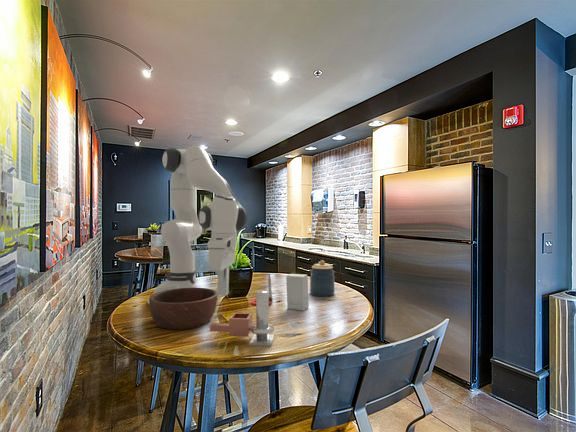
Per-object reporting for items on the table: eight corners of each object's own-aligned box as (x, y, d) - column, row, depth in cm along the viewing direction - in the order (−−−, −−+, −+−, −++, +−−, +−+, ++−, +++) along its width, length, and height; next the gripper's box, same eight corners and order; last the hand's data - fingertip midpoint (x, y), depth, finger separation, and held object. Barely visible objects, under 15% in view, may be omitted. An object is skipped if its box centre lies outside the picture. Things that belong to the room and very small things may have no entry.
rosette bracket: (207, 344, 98) (207, 293, 98) (214, 335, 106) (214, 288, 106) (272, 346, 97) (272, 295, 97) (275, 336, 104) (275, 289, 104)
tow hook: (249, 306, 141) (271, 306, 140) (248, 276, 141) (269, 275, 141) (252, 301, 150) (273, 300, 149) (251, 272, 150) (271, 271, 150)
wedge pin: (217, 295, 108) (217, 266, 108) (219, 293, 112) (220, 265, 112) (226, 295, 108) (226, 267, 108) (228, 293, 111) (229, 265, 111)
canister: (321, 289, 172) (321, 257, 172) (339, 294, 163) (339, 260, 163) (304, 293, 164) (304, 260, 164) (323, 298, 154) (323, 262, 154)
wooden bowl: (166, 310, 133) (166, 286, 133) (224, 311, 132) (224, 287, 132) (135, 332, 108) (135, 303, 108) (206, 333, 107) (207, 304, 107)
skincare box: (308, 307, 138) (308, 274, 138) (303, 311, 132) (303, 276, 132) (291, 305, 142) (292, 272, 142) (285, 308, 136) (285, 274, 136)
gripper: (223, 238, 120) (222, 274, 120) (205, 243, 100) (204, 286, 100) (239, 239, 120) (238, 274, 120) (224, 243, 100) (223, 286, 100)
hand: (223, 280), depth 110 cm, fingers closed on wedge pin, 3 cm apart
